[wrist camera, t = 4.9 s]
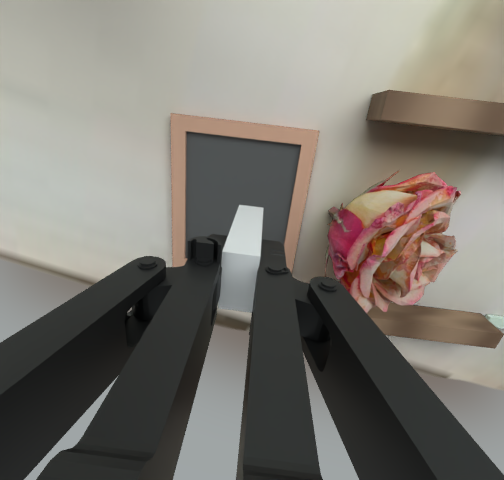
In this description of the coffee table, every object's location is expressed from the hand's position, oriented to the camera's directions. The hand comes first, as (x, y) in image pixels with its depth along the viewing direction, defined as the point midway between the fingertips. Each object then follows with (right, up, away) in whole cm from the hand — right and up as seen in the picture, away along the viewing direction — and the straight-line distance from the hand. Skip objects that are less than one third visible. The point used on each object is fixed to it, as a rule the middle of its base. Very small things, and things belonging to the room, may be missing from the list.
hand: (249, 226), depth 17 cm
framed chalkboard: (-1, +2, +4) cm, 4 cm away
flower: (+9, +1, +4) cm, 10 cm away
